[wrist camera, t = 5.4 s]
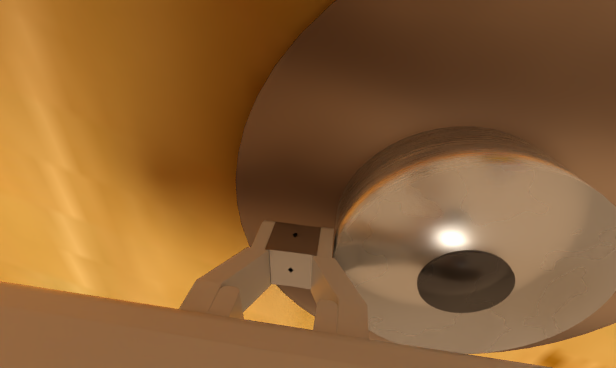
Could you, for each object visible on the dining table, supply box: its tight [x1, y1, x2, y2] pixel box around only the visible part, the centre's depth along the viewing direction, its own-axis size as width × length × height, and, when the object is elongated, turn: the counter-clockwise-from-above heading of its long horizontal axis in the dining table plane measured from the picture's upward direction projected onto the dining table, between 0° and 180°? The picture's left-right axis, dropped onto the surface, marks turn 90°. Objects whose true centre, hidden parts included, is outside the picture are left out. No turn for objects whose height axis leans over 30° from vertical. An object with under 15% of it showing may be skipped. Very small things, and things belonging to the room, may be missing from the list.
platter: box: [236, 0, 616, 354], centre depth 12 cm, size 20×20×1 cm
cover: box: [333, 126, 616, 354], centre depth 11 cm, size 9×9×3 cm
